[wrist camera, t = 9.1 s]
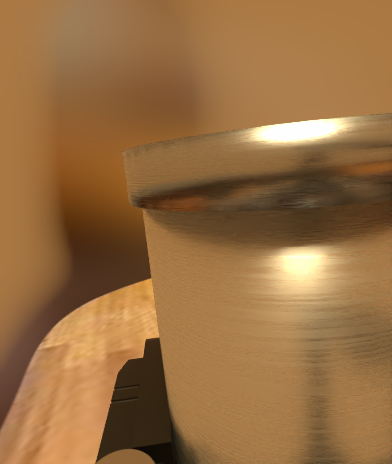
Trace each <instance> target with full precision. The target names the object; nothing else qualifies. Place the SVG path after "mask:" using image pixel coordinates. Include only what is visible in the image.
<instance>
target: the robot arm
mask: <svg viewBox="0 0 392 464" xmlns="http://www.w3.org/2000/svg"><path fill="white" fill-rule="evenodd" d="M114 389H115V390H114V391H113V395H112V399H111V404H110V408H109V412H108V416H107V420H106V424H105V428H104V432H103V436H102V440H101V444H100V448H99V452H98V456H97V460H96V463H95V464H177V460H176V453H175V445H174V438H173V430H172V422H171V415H170V410H169V405H168V397H167V390H166V382H165V375H164V367H163V359H162V352H161V344H160V337H159V338H152V339H146V342H145V349H144V356H143V358H138V359H130V360H128V361H127V362H126V364H125V365H124V366H123V367H122V369H121V370H120V371H119V372H118V375H117V379H116V383H115V387H114Z"/></svg>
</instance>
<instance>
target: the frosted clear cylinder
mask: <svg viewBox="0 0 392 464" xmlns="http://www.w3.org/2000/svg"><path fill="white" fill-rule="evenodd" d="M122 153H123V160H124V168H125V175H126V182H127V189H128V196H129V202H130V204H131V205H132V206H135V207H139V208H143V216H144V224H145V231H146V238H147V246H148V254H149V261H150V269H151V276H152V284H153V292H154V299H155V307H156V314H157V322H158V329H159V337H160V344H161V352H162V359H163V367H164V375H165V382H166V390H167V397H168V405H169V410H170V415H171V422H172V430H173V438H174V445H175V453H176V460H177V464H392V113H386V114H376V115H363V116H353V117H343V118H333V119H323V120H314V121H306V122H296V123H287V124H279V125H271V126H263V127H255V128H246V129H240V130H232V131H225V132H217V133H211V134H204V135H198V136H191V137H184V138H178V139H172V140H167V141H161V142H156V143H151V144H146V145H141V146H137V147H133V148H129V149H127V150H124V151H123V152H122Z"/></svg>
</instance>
